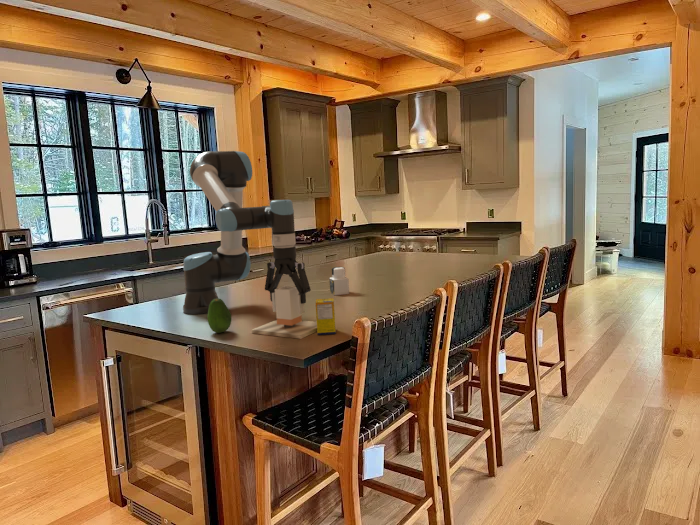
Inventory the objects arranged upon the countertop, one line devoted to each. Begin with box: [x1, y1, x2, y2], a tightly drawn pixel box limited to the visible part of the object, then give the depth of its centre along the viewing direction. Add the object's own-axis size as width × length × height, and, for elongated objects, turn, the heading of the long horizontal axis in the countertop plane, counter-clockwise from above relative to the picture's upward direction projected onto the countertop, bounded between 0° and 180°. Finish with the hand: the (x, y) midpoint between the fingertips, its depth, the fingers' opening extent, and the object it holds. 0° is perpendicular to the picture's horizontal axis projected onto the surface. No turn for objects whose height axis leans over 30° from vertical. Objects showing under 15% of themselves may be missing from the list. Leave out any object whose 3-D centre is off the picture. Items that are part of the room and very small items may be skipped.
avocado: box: [206, 297, 232, 334], centre depth 178 cm, size 8×8×12 cm
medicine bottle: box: [329, 266, 350, 296], centre depth 237 cm, size 7×7×12 cm
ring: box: [276, 316, 303, 326], centre depth 178 cm, size 6×6×2 cm
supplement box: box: [315, 297, 337, 336], centre depth 172 cm, size 6×6×11 cm
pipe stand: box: [251, 319, 317, 340], centre depth 178 cm, size 20×16×12 cm
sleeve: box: [275, 285, 302, 320], centre depth 177 cm, size 6×6×10 cm
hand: (288, 311), depth 178 cm, fingers open, 10 cm apart
